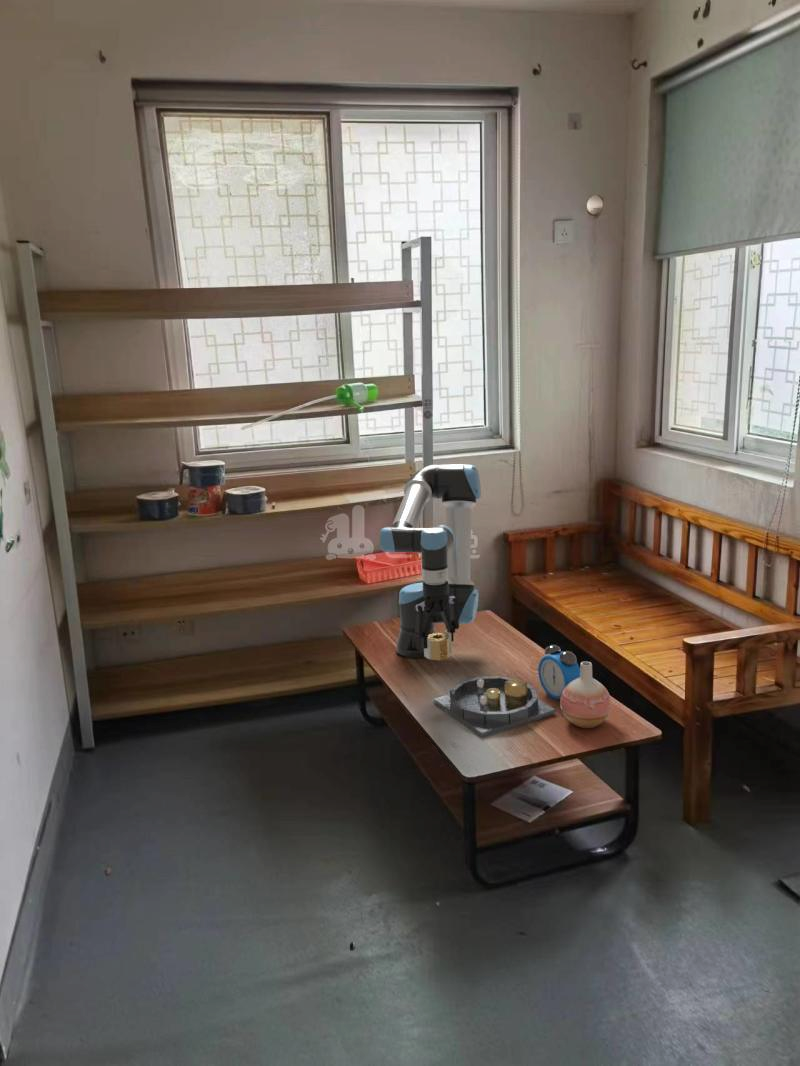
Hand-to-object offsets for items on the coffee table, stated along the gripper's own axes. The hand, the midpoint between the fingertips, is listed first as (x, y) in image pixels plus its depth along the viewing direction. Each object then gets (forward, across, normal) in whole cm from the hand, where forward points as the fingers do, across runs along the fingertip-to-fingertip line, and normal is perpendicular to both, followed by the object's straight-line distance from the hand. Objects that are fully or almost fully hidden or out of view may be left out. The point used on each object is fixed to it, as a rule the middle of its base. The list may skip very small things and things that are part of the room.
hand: (438, 654), depth 239 cm
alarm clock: (+13, +29, -21) cm, 38 cm away
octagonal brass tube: (0, 0, 0) cm, 0 cm away
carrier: (+13, +8, -17) cm, 23 cm away
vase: (+13, +24, -38) cm, 47 cm away
